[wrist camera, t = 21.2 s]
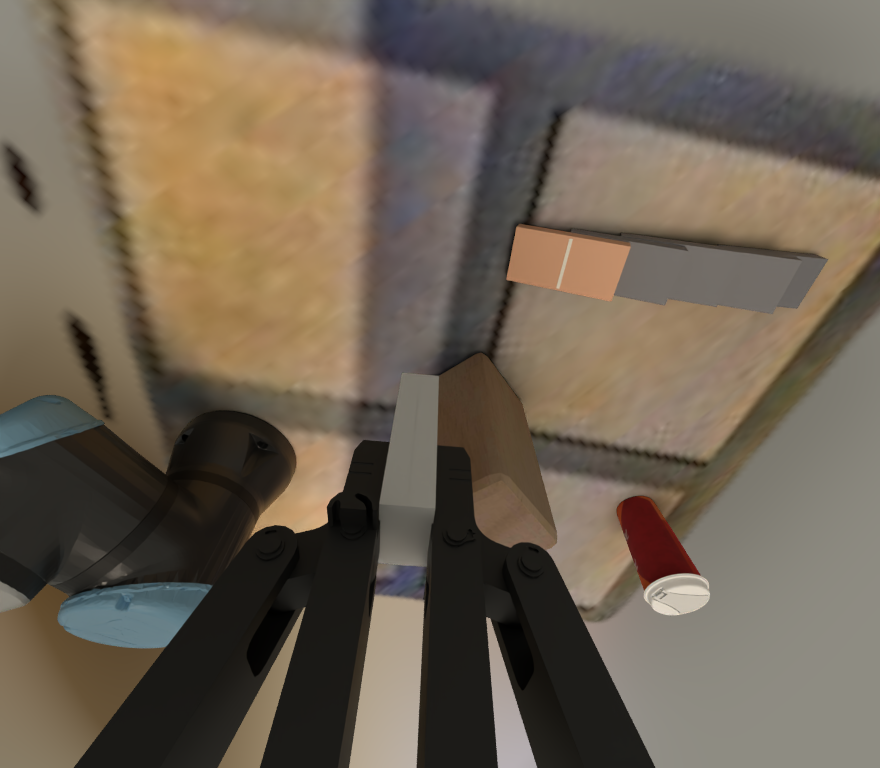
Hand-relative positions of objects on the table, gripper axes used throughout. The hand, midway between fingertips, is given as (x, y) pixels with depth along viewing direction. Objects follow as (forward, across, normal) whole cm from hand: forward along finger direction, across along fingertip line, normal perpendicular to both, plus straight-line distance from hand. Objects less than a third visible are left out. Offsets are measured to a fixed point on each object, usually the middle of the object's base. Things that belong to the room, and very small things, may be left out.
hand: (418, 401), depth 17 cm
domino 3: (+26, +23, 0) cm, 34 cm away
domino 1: (+26, +13, 0) cm, 29 cm away
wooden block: (+27, +6, -18) cm, 33 cm away
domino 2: (+26, +18, 0) cm, 31 cm away
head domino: (+26, +8, 0) cm, 27 cm away
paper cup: (+27, +34, -36) cm, 56 cm away
